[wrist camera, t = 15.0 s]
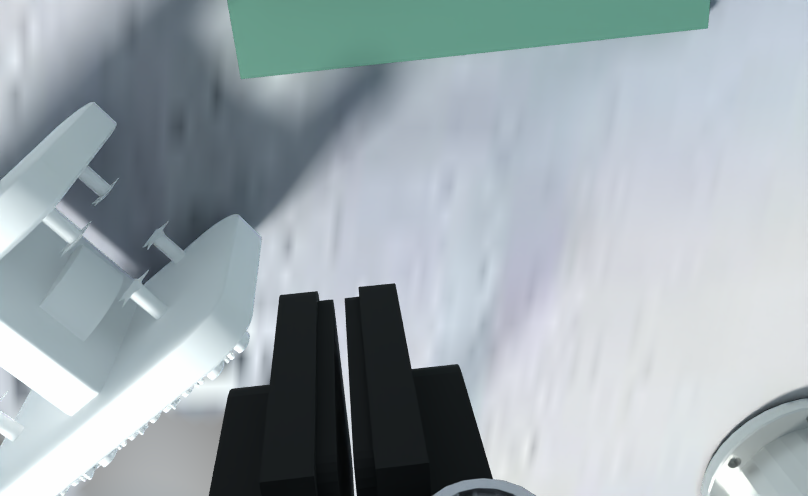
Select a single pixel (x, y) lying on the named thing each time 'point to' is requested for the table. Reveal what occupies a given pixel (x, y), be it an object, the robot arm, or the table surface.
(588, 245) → the table surface
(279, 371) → the robot arm
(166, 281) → the cable organizer
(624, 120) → the table surface
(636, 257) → the table surface
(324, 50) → the board
